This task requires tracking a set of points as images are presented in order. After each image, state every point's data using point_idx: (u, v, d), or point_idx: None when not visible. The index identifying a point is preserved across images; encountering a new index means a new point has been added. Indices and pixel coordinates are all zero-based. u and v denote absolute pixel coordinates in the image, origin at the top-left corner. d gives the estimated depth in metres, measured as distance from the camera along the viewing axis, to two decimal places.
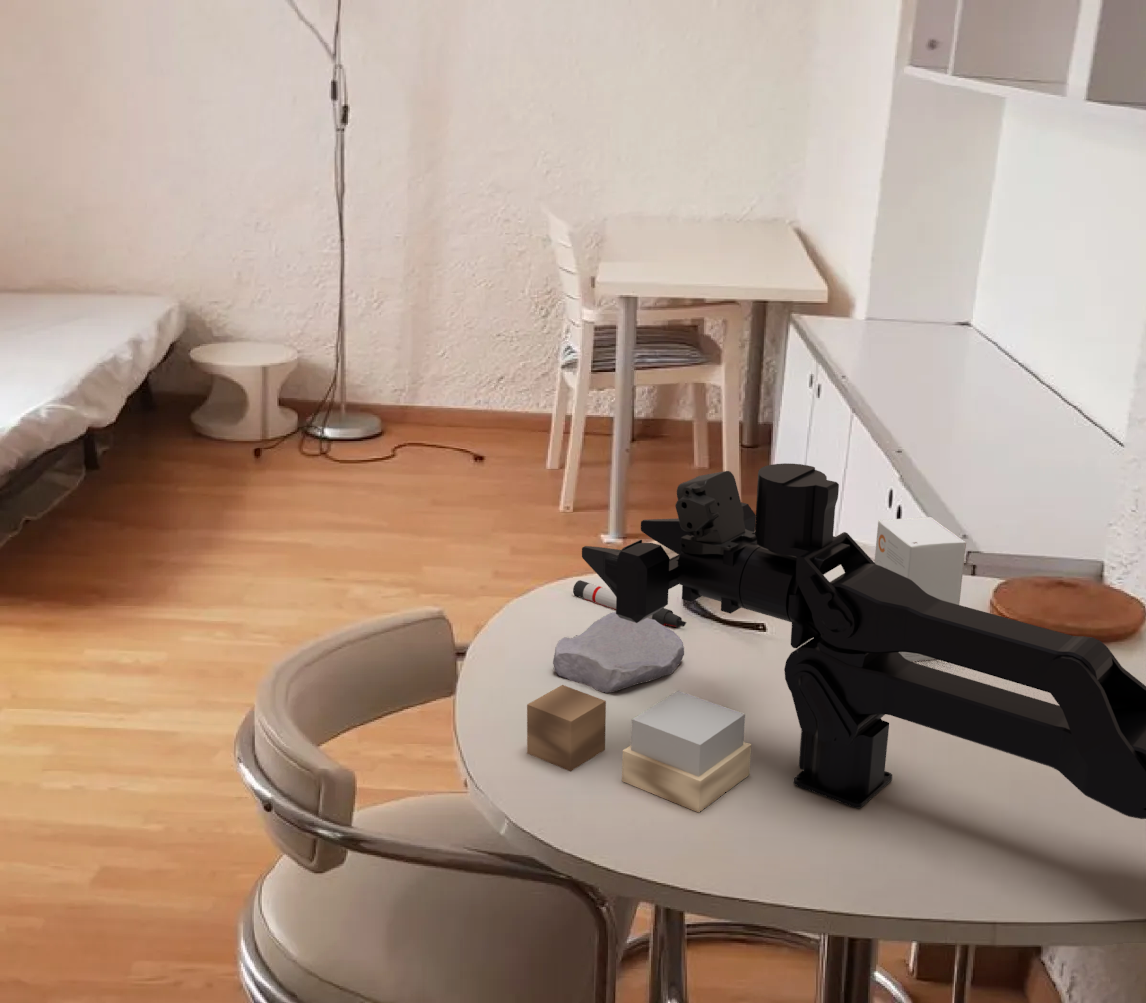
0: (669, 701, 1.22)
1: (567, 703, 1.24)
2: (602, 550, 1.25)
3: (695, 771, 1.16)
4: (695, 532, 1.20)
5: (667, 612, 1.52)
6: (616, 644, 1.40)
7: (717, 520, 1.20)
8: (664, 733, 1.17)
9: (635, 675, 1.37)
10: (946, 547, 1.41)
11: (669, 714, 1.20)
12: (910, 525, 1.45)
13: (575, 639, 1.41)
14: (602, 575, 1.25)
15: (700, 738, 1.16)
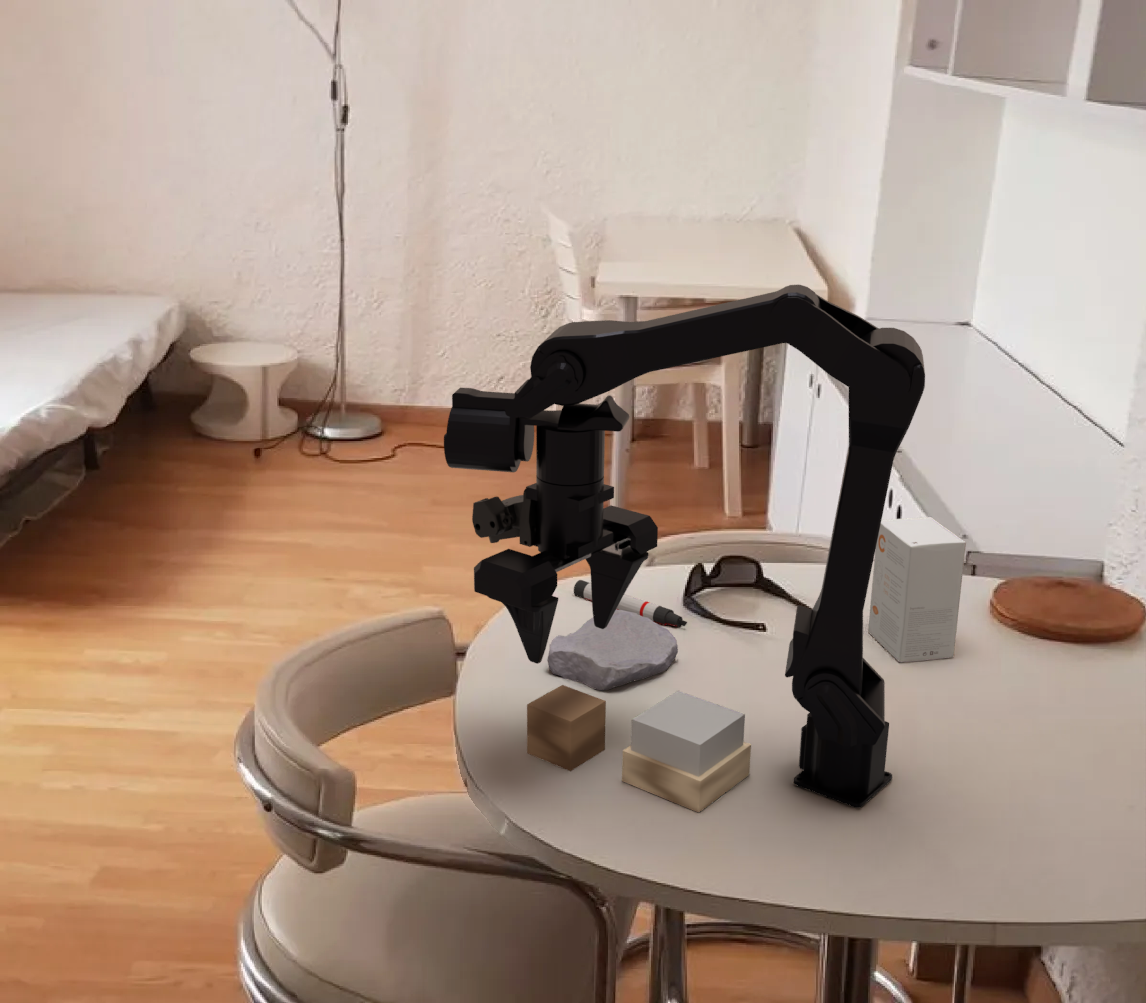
0: (669, 701, 1.22)
1: (567, 703, 1.24)
2: None
3: (695, 771, 1.16)
4: (507, 523, 1.19)
5: (668, 612, 1.52)
6: (610, 642, 1.41)
7: (511, 503, 1.20)
8: (664, 733, 1.17)
9: (630, 673, 1.37)
10: (946, 547, 1.41)
11: (669, 714, 1.20)
12: (910, 525, 1.45)
13: (569, 637, 1.42)
14: (537, 636, 1.16)
15: (700, 738, 1.16)
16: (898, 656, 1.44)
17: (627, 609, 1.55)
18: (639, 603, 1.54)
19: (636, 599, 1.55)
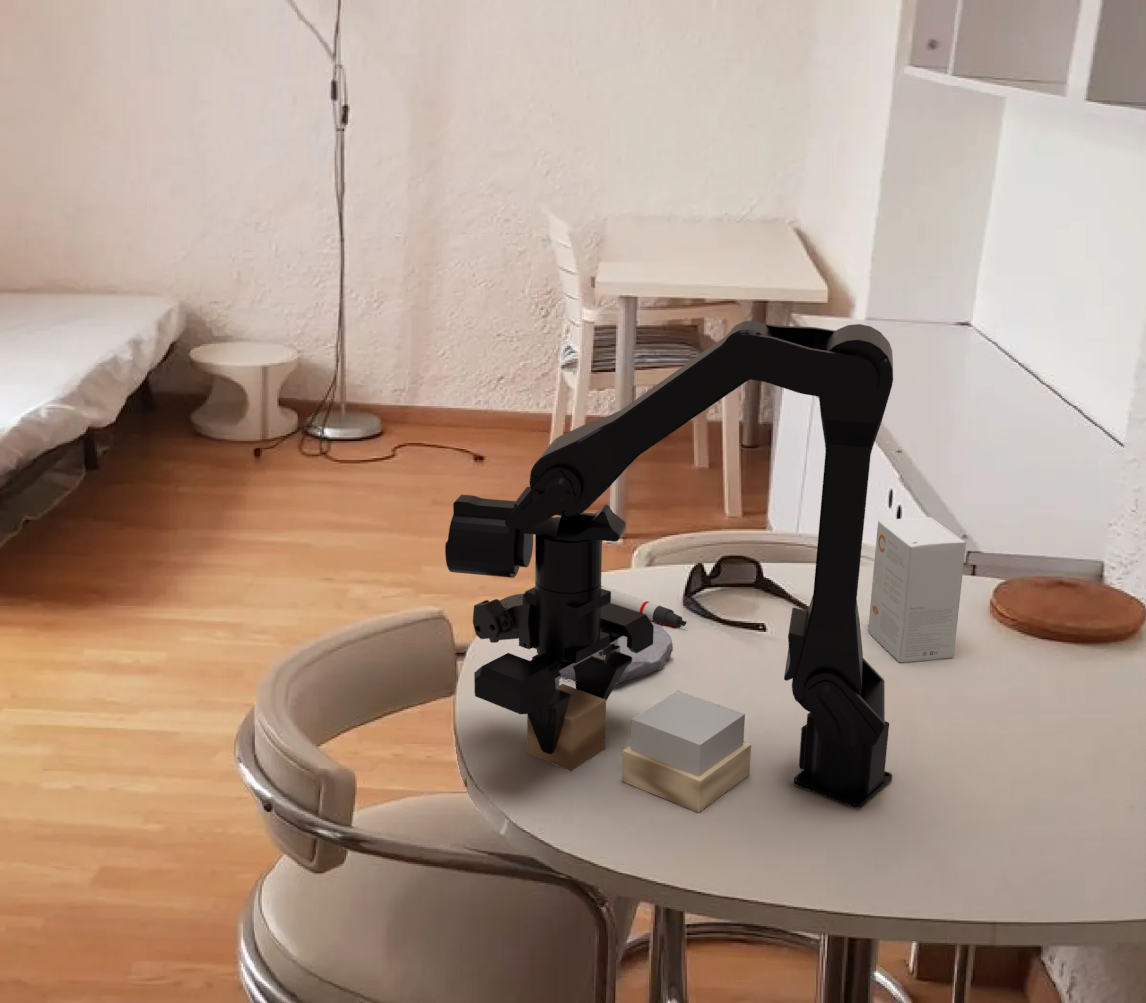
0: (669, 701, 1.22)
1: None
2: None
3: (695, 771, 1.16)
4: (506, 626, 1.22)
5: (668, 611, 1.52)
6: None
7: (510, 605, 1.23)
8: (664, 733, 1.17)
9: (626, 671, 1.37)
10: (946, 547, 1.41)
11: (669, 714, 1.20)
12: (910, 525, 1.45)
13: None
14: (550, 730, 1.21)
15: (700, 738, 1.16)
16: (898, 656, 1.44)
17: None
18: (639, 603, 1.54)
19: (636, 599, 1.55)
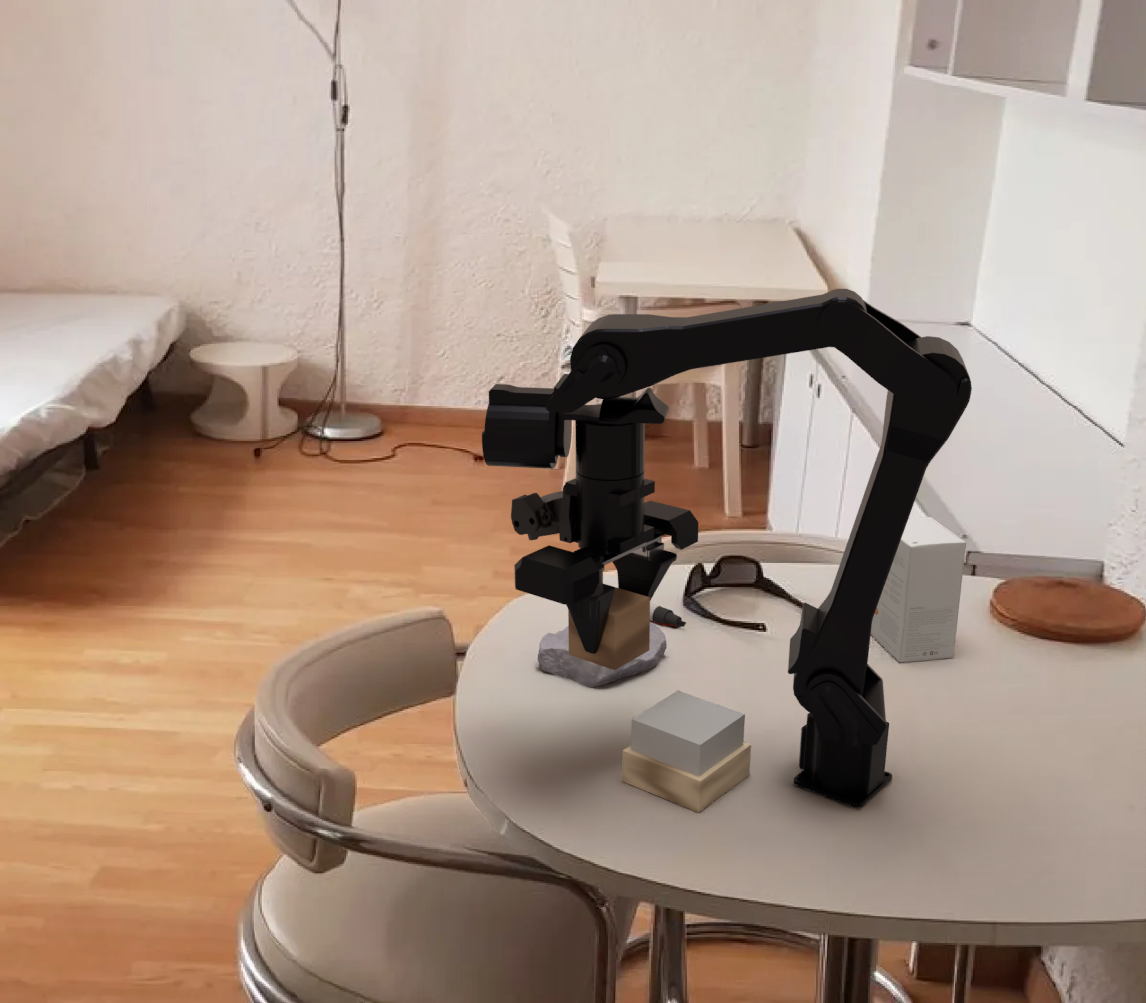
0: (669, 701, 1.22)
1: None
2: None
3: (695, 771, 1.16)
4: (546, 519, 1.17)
5: (667, 612, 1.52)
6: None
7: (550, 499, 1.18)
8: (664, 733, 1.17)
9: (620, 669, 1.38)
10: (946, 547, 1.41)
11: (669, 714, 1.20)
12: (910, 525, 1.45)
13: (559, 635, 1.42)
14: (593, 626, 1.16)
15: (700, 738, 1.16)
16: (898, 656, 1.44)
17: None
18: None
19: None
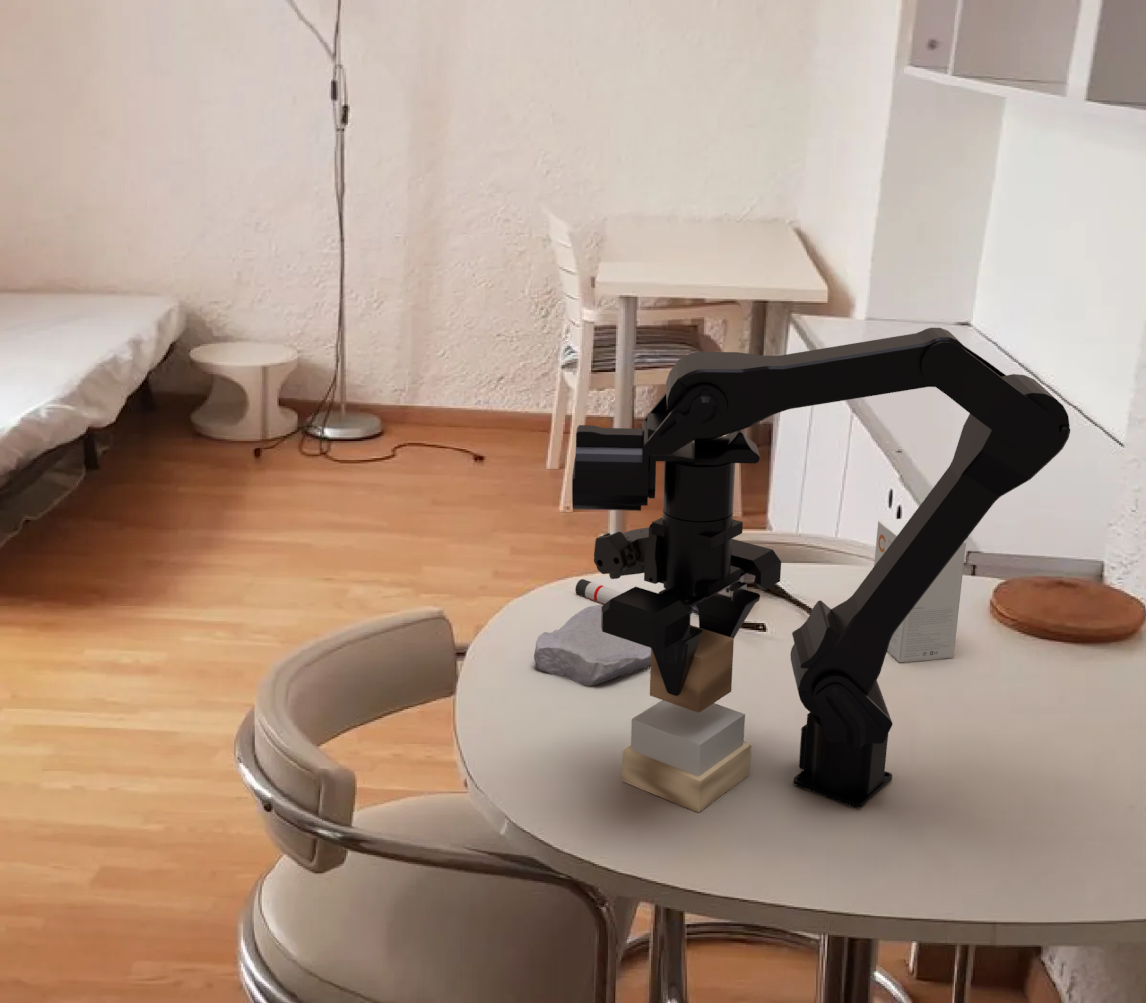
0: None
1: None
2: None
3: (695, 771, 1.16)
4: (631, 559, 1.15)
5: None
6: (596, 637, 1.42)
7: (634, 538, 1.16)
8: (664, 733, 1.17)
9: (617, 668, 1.38)
10: None
11: (669, 714, 1.20)
12: None
13: (555, 634, 1.42)
14: (678, 669, 1.14)
15: (700, 738, 1.16)
16: (898, 656, 1.44)
17: None
18: None
19: None
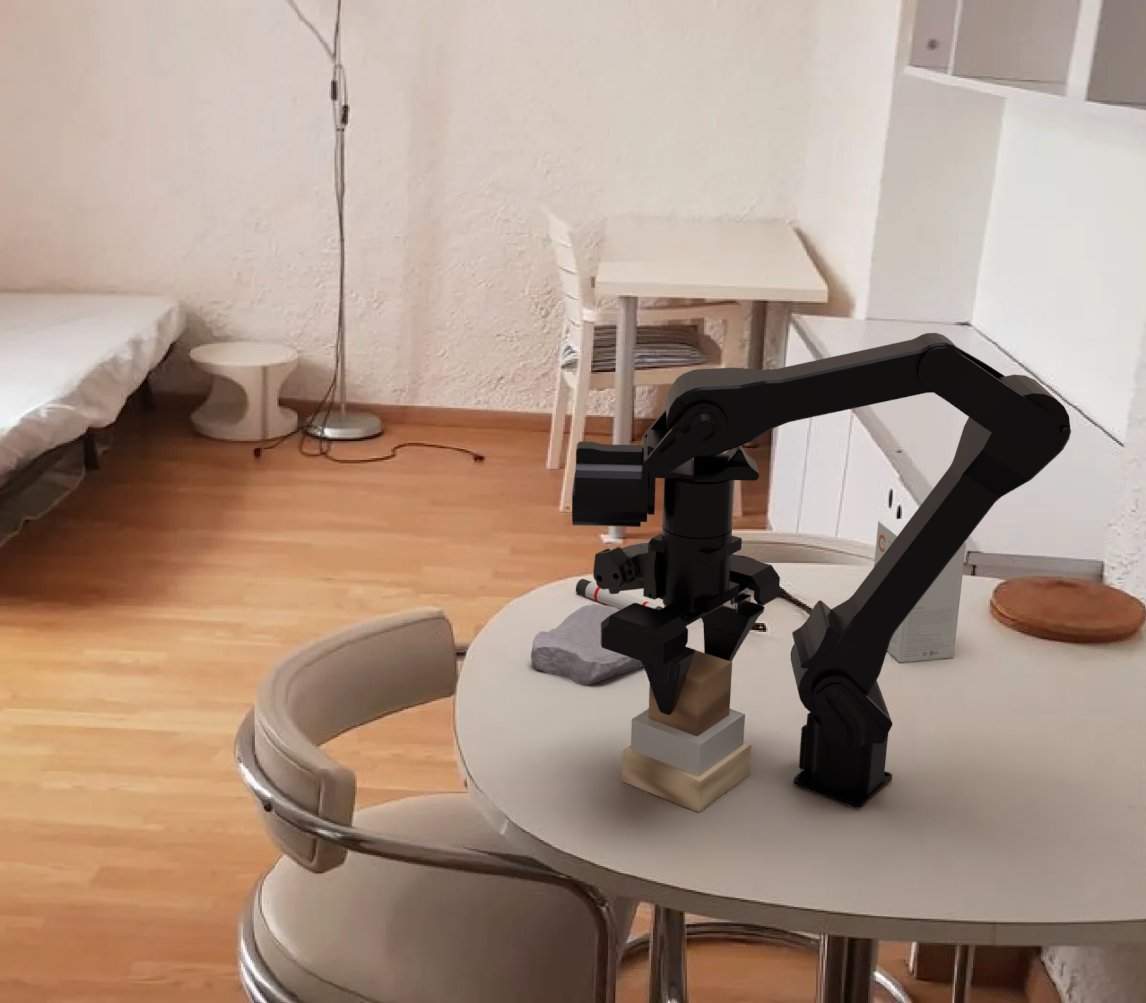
0: None
1: (692, 664, 1.18)
2: None
3: (695, 771, 1.16)
4: (630, 575, 1.15)
5: None
6: (593, 636, 1.42)
7: (633, 554, 1.17)
8: (664, 733, 1.17)
9: (614, 666, 1.38)
10: None
11: None
12: None
13: (552, 633, 1.42)
14: (671, 688, 1.14)
15: (700, 738, 1.16)
16: (898, 656, 1.44)
17: None
18: (639, 603, 1.54)
19: (636, 599, 1.55)
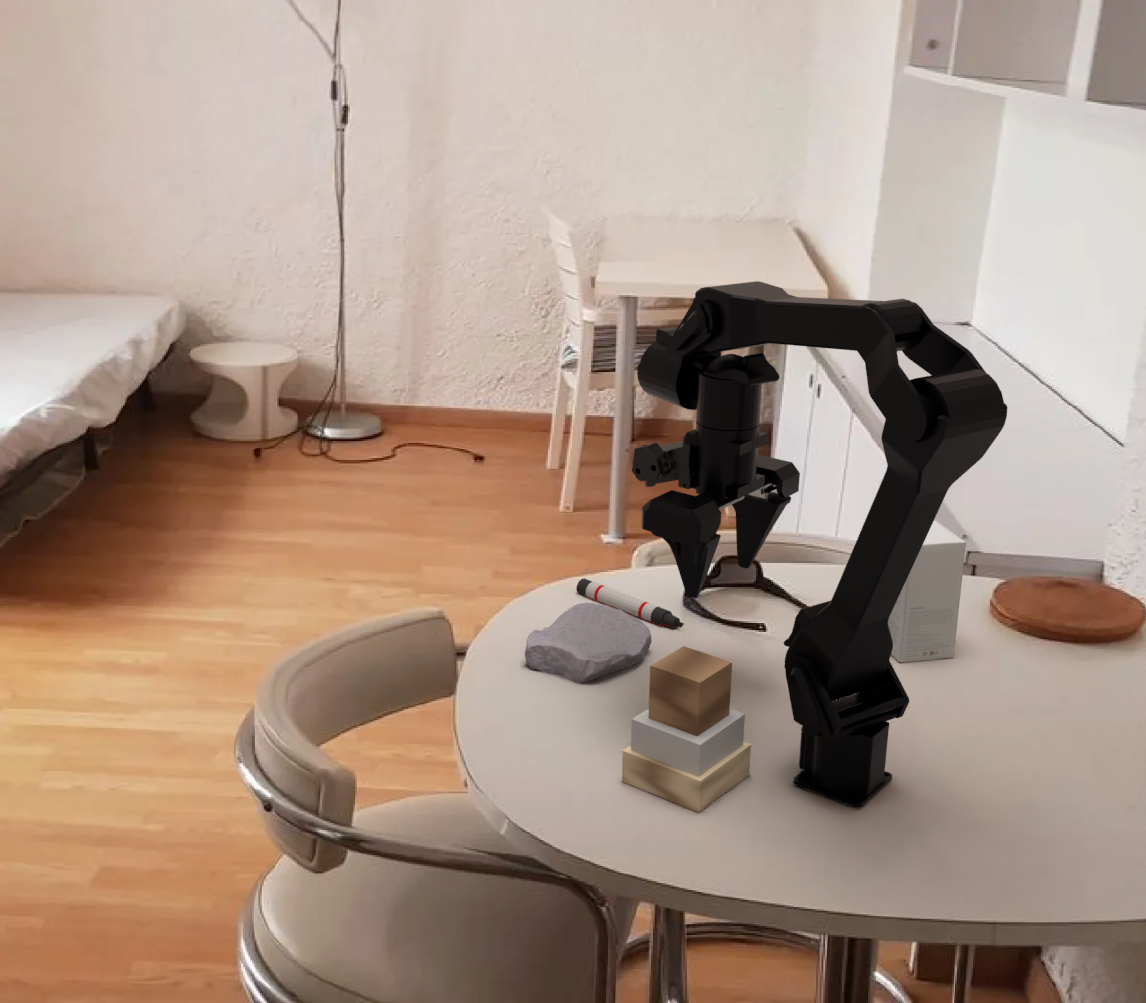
0: None
1: (692, 664, 1.18)
2: None
3: (695, 771, 1.16)
4: (666, 467, 1.27)
5: (665, 613, 1.52)
6: (586, 635, 1.42)
7: (668, 449, 1.29)
8: (664, 733, 1.17)
9: (608, 664, 1.39)
10: (946, 547, 1.41)
11: None
12: None
13: (545, 631, 1.43)
14: (698, 572, 1.25)
15: (700, 738, 1.16)
16: (898, 656, 1.44)
17: (626, 609, 1.55)
18: (638, 603, 1.54)
19: (636, 599, 1.55)
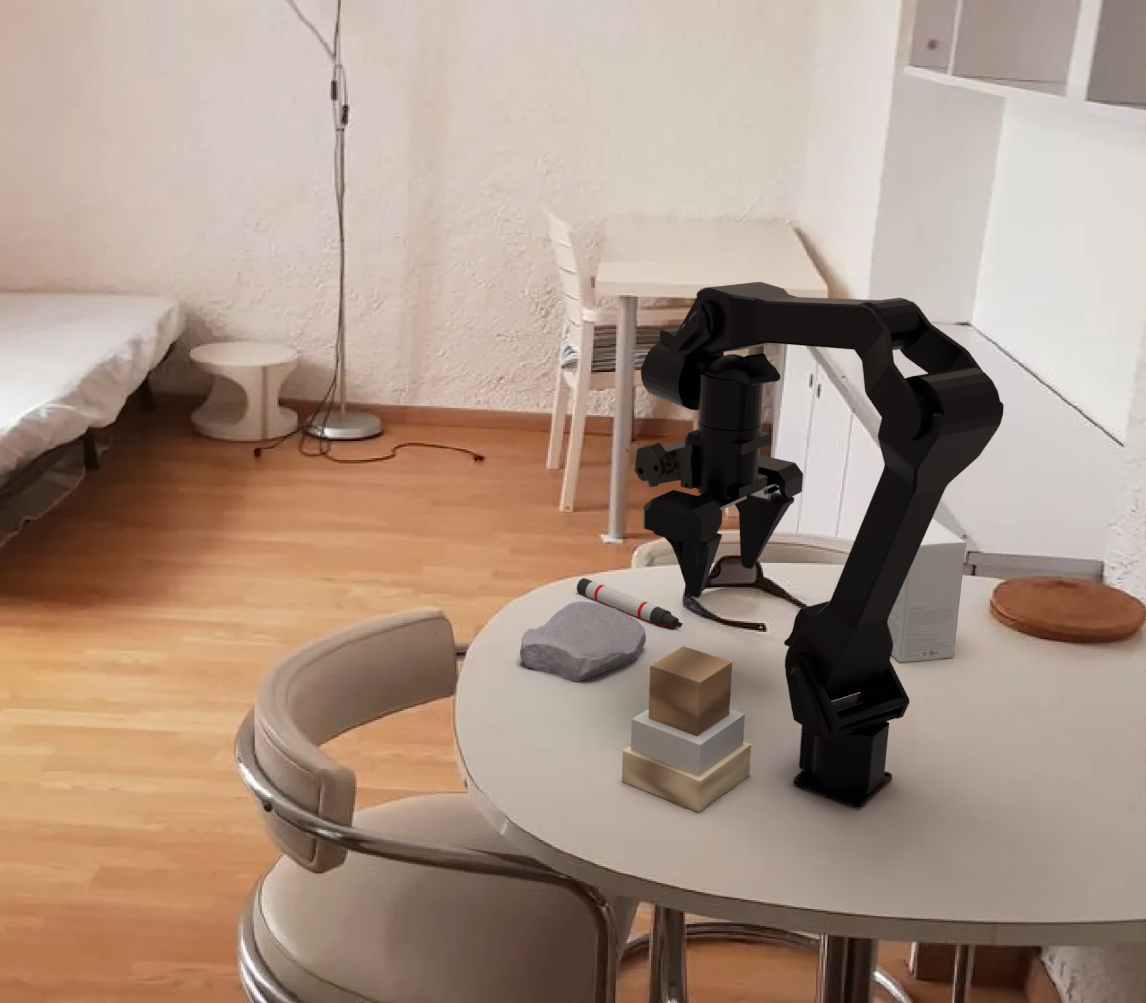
0: None
1: (692, 664, 1.18)
2: None
3: (695, 771, 1.16)
4: (669, 467, 1.28)
5: (665, 612, 1.52)
6: (581, 633, 1.42)
7: (671, 449, 1.29)
8: (664, 733, 1.17)
9: (604, 662, 1.39)
10: (946, 547, 1.41)
11: None
12: None
13: (540, 630, 1.43)
14: (700, 571, 1.26)
15: (700, 738, 1.16)
16: (898, 656, 1.44)
17: (626, 608, 1.55)
18: (638, 603, 1.54)
19: (635, 599, 1.55)
